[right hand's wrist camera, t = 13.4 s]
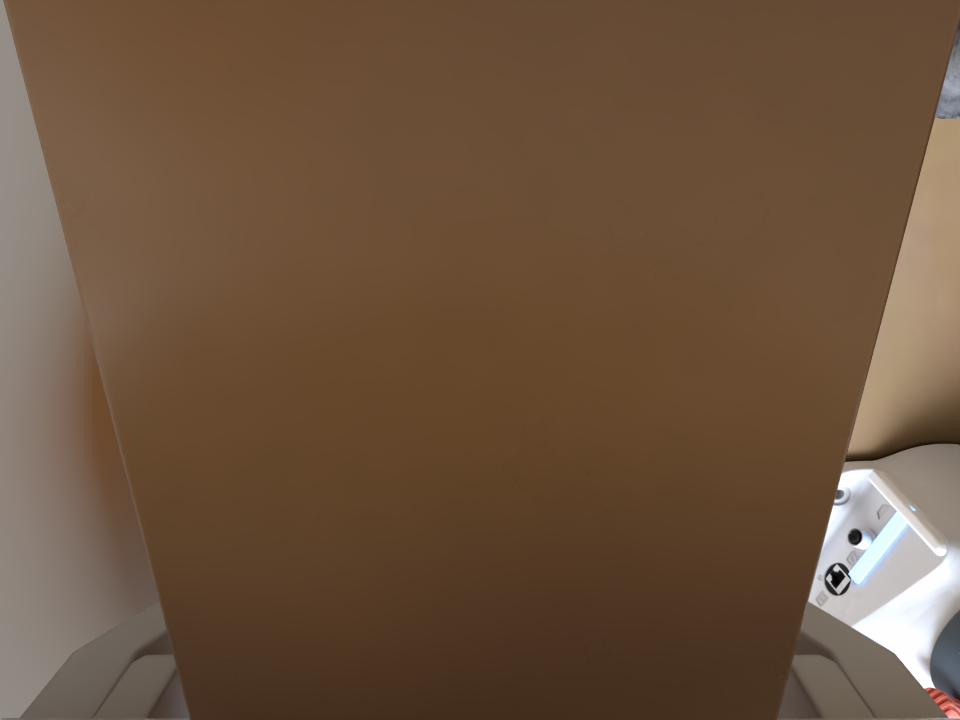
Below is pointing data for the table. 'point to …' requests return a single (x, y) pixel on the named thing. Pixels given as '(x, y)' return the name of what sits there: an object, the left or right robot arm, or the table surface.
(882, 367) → the table surface
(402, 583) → the bar
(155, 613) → the right robot arm
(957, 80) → the grey chess piece
